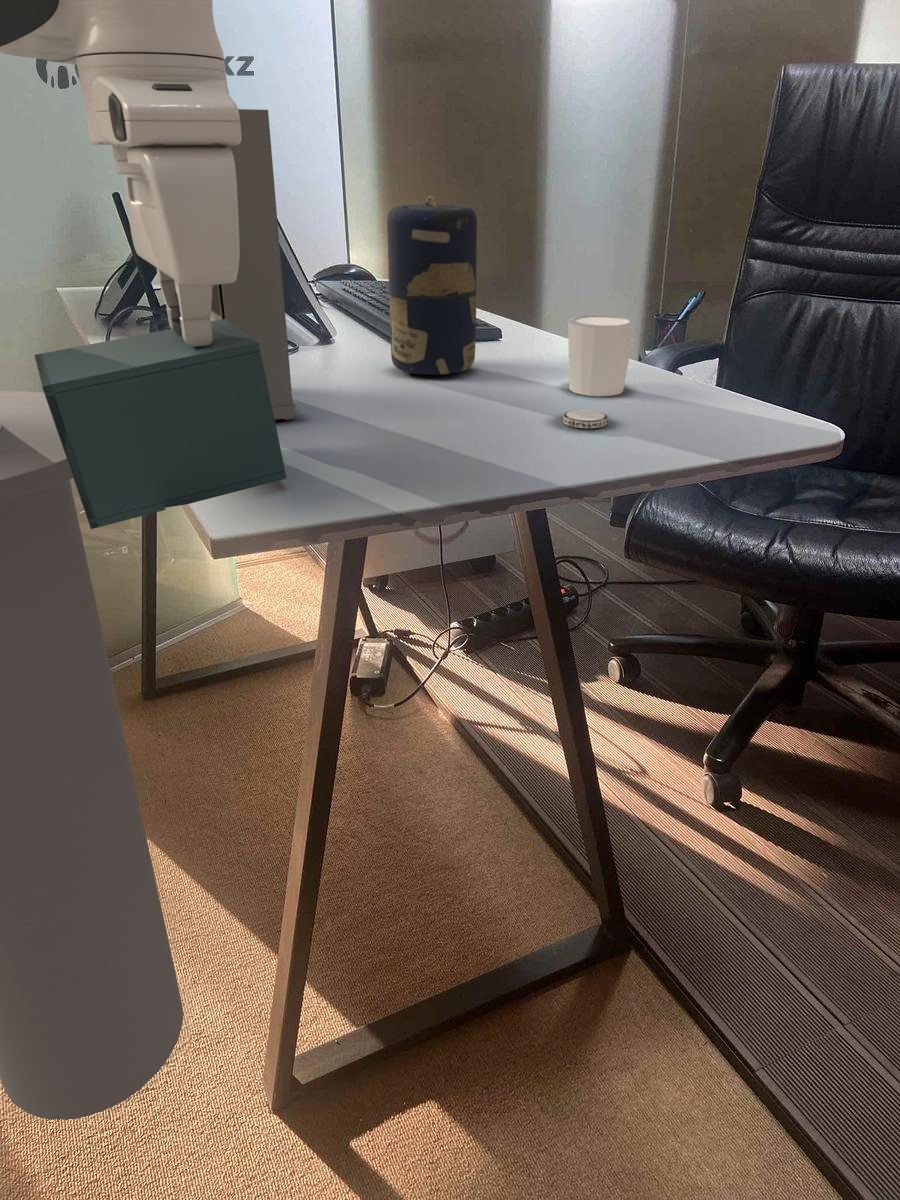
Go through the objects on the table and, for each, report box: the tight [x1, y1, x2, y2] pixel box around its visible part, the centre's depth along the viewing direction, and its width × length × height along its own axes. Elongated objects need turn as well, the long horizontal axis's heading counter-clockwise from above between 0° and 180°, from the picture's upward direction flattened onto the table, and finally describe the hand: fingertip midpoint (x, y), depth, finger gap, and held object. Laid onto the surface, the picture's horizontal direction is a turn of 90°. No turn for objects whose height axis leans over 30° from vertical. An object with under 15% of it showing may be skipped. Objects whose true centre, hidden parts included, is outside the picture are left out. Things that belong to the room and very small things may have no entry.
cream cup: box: [567, 315, 637, 397], centre depth 88 cm, size 7×7×7 cm
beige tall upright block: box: [210, 108, 296, 421], centre depth 78 cm, size 14×6×25 cm, turn 26°
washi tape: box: [562, 409, 608, 429], centre depth 79 cm, size 4×4×1 cm
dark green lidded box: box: [33, 291, 288, 530], centre depth 61 cm, size 14×10×13 cm
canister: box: [386, 195, 478, 376], centre depth 93 cm, size 10×10×18 cm
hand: (191, 338), depth 61 cm, fingers closed on dark green lidded box, 4 cm apart
